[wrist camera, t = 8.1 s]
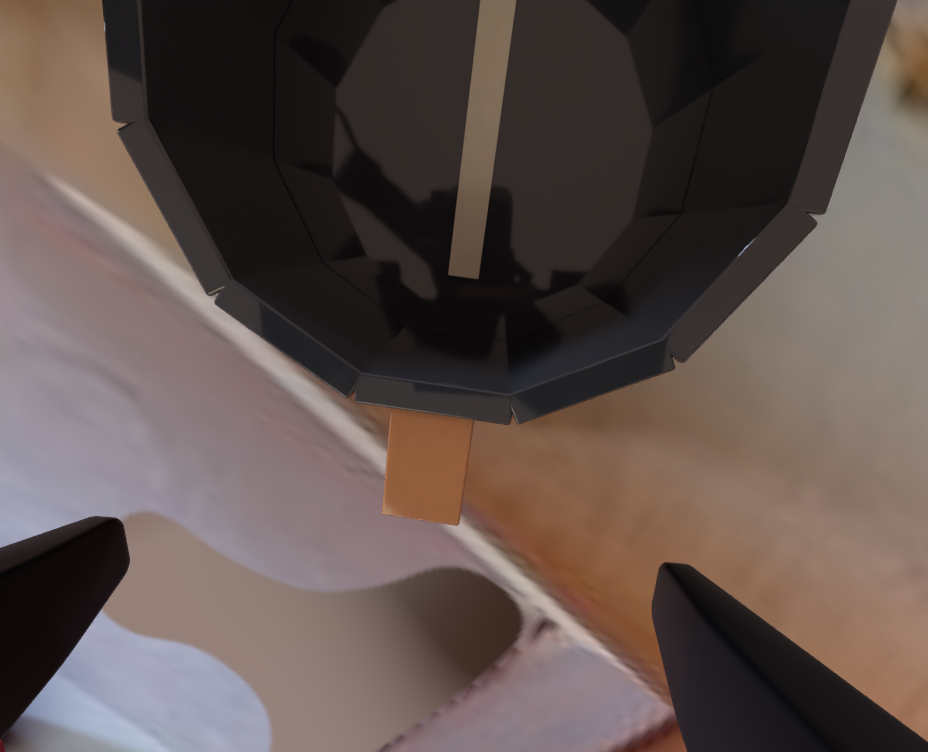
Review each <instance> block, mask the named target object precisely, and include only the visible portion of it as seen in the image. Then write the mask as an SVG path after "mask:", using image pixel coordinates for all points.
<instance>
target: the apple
mask: <svg viewBox="0 0 928 752" xmlns="http://www.w3.org/2000/svg"><path fill="white" fill-rule="evenodd" d="M0 752H5V748H4V743H3V740H2V739H1V741H0Z"/></svg>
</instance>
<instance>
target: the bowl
mask: <svg viewBox="0 0 928 752" xmlns="http://www.w3.org/2000/svg"><path fill="white" fill-rule="evenodd" d="M896 3H897V0H102V4H103V16H104V28H105V40H106V52H107V64H108V76H109V88H110V101H111V113H112V119H113V120H114V121H115V122H117V123H121V124H124V125H125V126H123V127H121V128H119V129H118V130H117V133H118V135H119V137H120V139H121V141H122V143H123V144H124V146H125V148H126V150H127V152H128V153H129V155H130V157H131V159H132V161H133V162H134V164H135V166H136V168H137V170H138V172H139V173H140V175H141V177H142V179H143V181H144V182H145V184H146V186H147V188H148V190H149V191H150V193H151V195H152V197H153V199H154V201H155V202H156V204H157V206H158V208H159V210H160V211H161V213H162V215H163V217H164V219H165V220H166V222H167V224H168V226H169V228H170V230H171V231H172V233H173V235H174V237H175V239H176V240H177V242H178V244H179V246H180V248H181V249H182V251H183V253H184V255H185V257H186V258H187V260H188V262H189V264H190V266H191V268H192V269H193V271H194V273H195V275H196V277H197V278H198V280H199V282H200V284H201V286H202V287H203V289H204V291H205V293H206V294H207V295H208V296H214V295H218V296H217V298H216V299H215V302H214V303H215V305H217V306H218V307H219V308H221V309H222V310H223V311H225V312H226V313H228V314H229V315H230V316H232V317H233V318H235V319H236V320H237V321H239V322H240V323H242V324H243V325H244V326H246V327H247V328H249V329H250V330H251V331H253V332H254V333H256V334H257V335H258V336H260V337H261V338H262V339H264V340H265V341H267V342H268V343H269V344H271V345H272V346H274V347H275V348H276V349H278V350H279V351H281V352H282V353H283V354H285V355H286V356H288V357H289V358H290V359H292V360H293V361H294V362H296V363H297V364H299V365H300V366H301V367H303V368H304V369H306V370H307V371H308V372H310V373H311V374H313V375H314V376H315V377H317V378H318V379H320V380H321V381H322V382H324V383H325V384H327V385H328V386H329V387H331V388H332V389H333V390H335V391H336V392H338V393H339V394H340V395H342V396H343V397H345V398H347V399H348V398H350V397H351V396H352V395H353V394H354V393H355V402H356V403H361V404H368V405H375V406H382V407H388V408H391V417H390V428H389V439H388V450H387V462H386V473H385V484H384V495H383V506H382V514H385V515H391V516H398V517H404V518H411V519H417V520H424V521H430V522H437V523H443V524H450V525H456V526H457V525H459V521H460V514H461V507H462V501H463V494H464V487H465V480H466V473H467V467H468V460H469V453H470V446H471V439H472V432H473V426H474V420H477V421H484V422H490V423H497V424H504V425H509V424H510V423H511V419H512V414H513V416H514V419H515V421H516V423H517V424H522V423H524V422H527V421H530V420H533V419H536V418H539V417H541V416H544V415H547V414H550V413H553V412H556V411H558V410H561V409H564V408H567V407H570V406H573V405H575V404H578V403H581V402H584V401H587V400H590V399H592V398H595V397H598V396H601V395H604V394H607V393H609V392H612V391H615V390H618V389H621V388H624V387H626V386H629V385H632V384H635V383H638V382H641V381H644V380H646V379H649V378H652V377H655V376H658V375H661V374H663V373H666V372H669V371H672V370H674V369H675V364H674V361H673V358H674V359H675V360H676V361H678V362H680V363H684V362H685V361H686V360H687V359H688V358H689V357H690V356H691V355H692V354H693V353H694V352H695V351H696V350H697V349H698V348H699V347H700V346H701V345H702V344H703V343H704V342H705V341H706V340H707V339H708V338H709V337H710V336H711V335H712V333H713V332H714V331H715V330H716V329H717V328H718V327H719V326H720V325H721V324H722V323H723V322H724V321H725V320H726V319H727V318H728V317H729V316H730V315H731V314H732V313H733V312H734V311H735V310H736V309H737V308H738V307H739V306H740V305H741V304H742V302H743V301H744V300H745V299H746V298H747V297H748V296H749V295H750V294H751V293H752V292H753V291H754V290H755V289H756V288H757V287H758V286H759V285H760V284H761V283H762V282H763V281H764V280H765V279H766V278H767V277H768V276H769V275H770V274H771V273H772V271H773V270H774V269H775V268H776V267H777V266H778V265H779V264H780V263H781V262H782V261H783V260H784V259H785V258H786V257H787V256H788V255H789V254H790V253H791V252H792V251H793V250H794V249H795V248H796V247H797V246H798V245H799V244H800V243H801V241H802V240H803V239H804V238H805V237H806V236H807V235H808V234H809V233H810V232H811V231H812V230H813V229H814V228H815V227H816V226H817V224H818V223H817V221H816V220H815V219H814V218H813V217H812V216H813V215H823V214H825V212H826V210H827V207H828V204H829V201H830V198H831V195H832V192H833V189H834V186H835V184H836V181H837V178H838V175H839V172H840V169H841V166H842V163H843V160H844V157H845V154H846V151H847V148H848V145H849V142H850V139H851V136H852V133H853V130H854V127H855V124H856V121H857V118H858V115H859V112H860V110H861V107H862V104H863V101H864V98H865V95H866V92H867V89H868V86H869V83H870V80H871V77H872V74H873V71H874V68H875V65H876V62H877V59H878V56H879V53H880V50H881V47H882V44H883V41H884V38H885V36H886V33H887V30H888V27H889V24H890V21H891V18H892V15H893V12H894V9H895V6H896Z"/></svg>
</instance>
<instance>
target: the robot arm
mask: <svg viewBox="0 0 928 752" xmlns="http://www.w3.org/2000/svg"><path fill="white" fill-rule="evenodd" d="M129 562H130V557H129V552H128V546H127V541H126V535H125V530H124V526H123V523H122V522H121V521H120V520H119V519H117V518H113V517H101V516H93V517H89V518H86V519H83V520H80V521H77V522H74V523H71V524H68V525H65V526H63V527H60V528H57V529H54V530H51V531H48V532H45V533H42V534H39V535H36V536H33V537H31V538H28V539H25V540H22V541H19V542H16V543H13V544H10V545H7V546H4V547H2V548H0V741H1V739H2V738H3V737H4V736H5V734H6V733H7V732H8V731H9V730H10V728H11V727H12V726H13V725H14V723H15V722H16V721H17V720H18V719H19V717H20V716H21V715H22V714H23V712H24V711H25V710H26V709H27V708H28V706H29V705H30V704H31V703H32V701H33V700H34V699H35V698H36V696H37V695H38V694H39V693H40V692H41V690H42V689H43V688H44V687H45V685H46V684H47V683H48V682H49V681H50V679H51V678H52V677H53V676H54V674H55V673H56V672H57V670H58V669H59V668H60V667H61V665H62V664H63V663H64V661H65V660H66V659H67V657H68V656H69V655H70V653H71V652H72V650H73V649H74V648H75V646H76V645H77V643H78V642H79V640H80V639H81V638H82V636H83V635H84V633H85V632H86V630H87V629H88V628H89V626H90V625H91V623H92V622H93V620H94V619H95V617H96V616H97V615H98V613H99V612H100V610H101V609H102V607H103V606H104V604H105V603H106V602H107V600H108V599H109V597H110V596H111V594H112V593H113V591H114V590H115V589H116V587H117V586H118V584H119V583H120V581H121V580H122V579H123V577H124V576H125V574H126V572H127V570H128V567H129ZM652 619H653V623H654V628H655V632H656V636H657V640H658V644H659V648H660V653H661V657H662V661H663V665H664V669H665V673H666V678H667V682H668V686H669V690H670V694H671V698H672V703H673V707H674V710H675V714H676V718H677V722H678V725H679V728H680V731H681V734H682V737H683V740H684V743H685V746H686V749H687V752H928V742H927V741H926V740H924V739H923V738H922V737H920V736H919V735H918V734H916V733H915V732H914V731H912V730H911V729H910V728H908V727H907V726H906V725H904V724H903V723H902V722H900V721H899V720H898V719H896V718H895V717H894V716H892V715H891V714H889V713H888V712H887V711H885V710H884V709H883V708H881V707H880V706H879V705H877V704H876V703H875V702H873V701H872V700H871V699H869V698H868V697H867V696H865V695H864V694H863V693H861V692H860V691H859V690H857V689H856V688H855V687H853V686H852V685H850V684H849V683H848V682H846V681H845V680H844V679H842V678H841V677H840V676H838V675H837V674H836V673H834V672H833V671H832V670H830V669H829V668H828V667H826V666H825V665H824V664H822V663H821V662H820V661H818V660H817V659H816V658H814V657H813V656H812V655H810V654H809V653H807V652H806V651H805V650H803V649H802V648H801V647H799V646H798V645H797V644H795V643H794V642H793V641H791V640H790V639H789V638H787V637H786V636H785V635H783V634H782V633H781V632H779V631H778V630H777V629H775V628H774V627H773V626H771V625H770V624H768V623H767V622H766V621H764V620H763V619H762V618H760V617H759V616H758V615H756V614H755V613H754V612H752V611H751V610H750V609H748V608H747V607H746V606H744V605H743V604H742V603H740V602H739V601H738V600H736V599H735V598H734V597H732V596H731V595H729V594H728V593H727V592H725V591H724V590H723V589H721V588H720V587H719V586H717V585H716V584H715V583H713V582H712V581H711V580H709V579H708V578H707V577H705V576H704V575H703V574H701V573H700V572H699V571H697V570H696V569H695V568H693V567H692V566H690V565H688V564H681V563H669V562H665V563H663V564H662V565H661V566H660V568H659V571H658V576H657V581H656V586H655V591H654V596H653V600H652Z"/></svg>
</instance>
